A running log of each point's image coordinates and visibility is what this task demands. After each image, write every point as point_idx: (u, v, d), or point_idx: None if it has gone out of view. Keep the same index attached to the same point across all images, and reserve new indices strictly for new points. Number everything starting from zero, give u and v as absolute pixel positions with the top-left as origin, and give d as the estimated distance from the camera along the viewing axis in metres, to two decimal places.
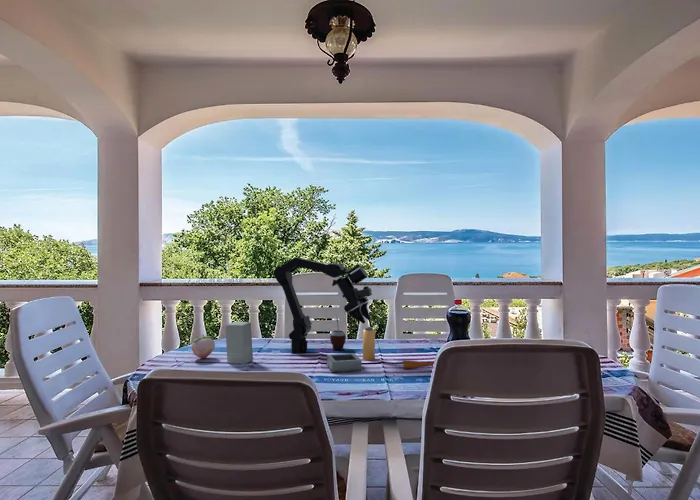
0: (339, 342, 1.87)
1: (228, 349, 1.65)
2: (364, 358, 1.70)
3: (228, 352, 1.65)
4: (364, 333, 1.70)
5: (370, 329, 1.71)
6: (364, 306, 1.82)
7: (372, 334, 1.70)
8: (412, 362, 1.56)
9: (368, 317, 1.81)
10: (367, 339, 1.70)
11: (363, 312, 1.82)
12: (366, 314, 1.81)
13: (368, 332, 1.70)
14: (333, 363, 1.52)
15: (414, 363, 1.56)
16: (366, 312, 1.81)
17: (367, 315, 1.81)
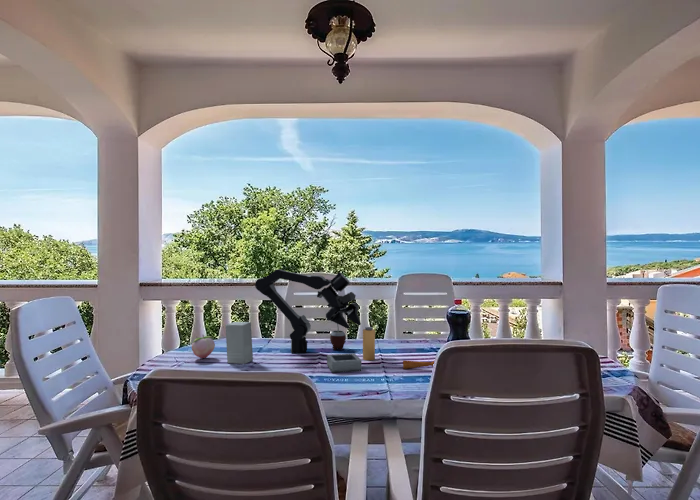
0: (339, 342, 1.87)
1: (228, 349, 1.65)
2: (364, 358, 1.70)
3: (228, 352, 1.65)
4: (364, 333, 1.70)
5: (370, 329, 1.71)
6: (353, 312, 1.82)
7: (372, 334, 1.70)
8: (412, 362, 1.56)
9: (358, 322, 1.80)
10: (367, 339, 1.70)
11: (353, 319, 1.82)
12: (356, 320, 1.81)
13: (368, 332, 1.70)
14: (333, 363, 1.52)
15: (414, 363, 1.56)
16: (356, 318, 1.81)
17: (357, 321, 1.80)
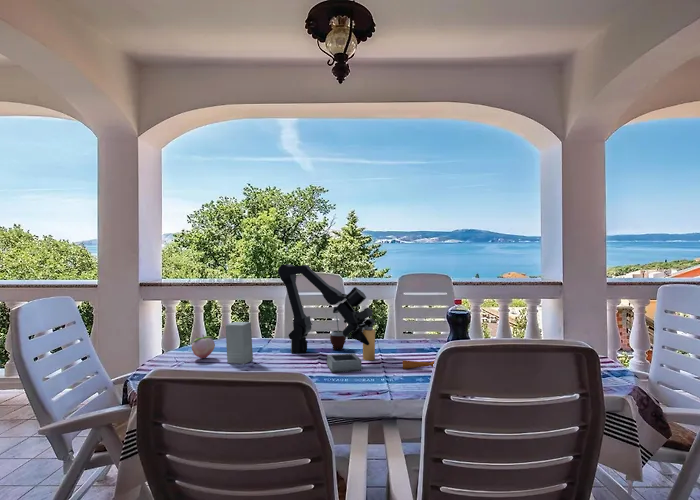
0: (339, 342, 1.87)
1: (228, 349, 1.65)
2: (364, 358, 1.70)
3: (228, 352, 1.65)
4: (364, 333, 1.70)
5: (370, 329, 1.71)
6: None
7: (372, 334, 1.70)
8: (411, 362, 1.57)
9: None
10: (367, 339, 1.70)
11: None
12: None
13: (368, 332, 1.70)
14: (333, 363, 1.52)
15: (413, 363, 1.56)
16: None
17: None
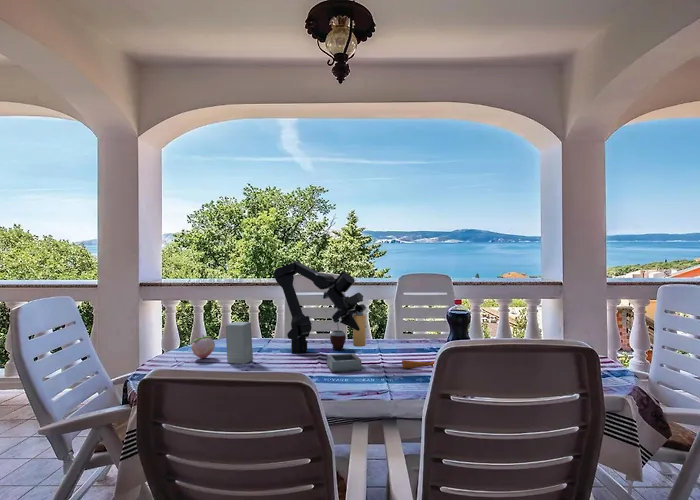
0: (339, 342, 1.87)
1: (228, 349, 1.65)
2: (354, 344, 1.65)
3: (228, 352, 1.65)
4: (354, 318, 1.65)
5: (361, 314, 1.65)
6: None
7: (363, 319, 1.65)
8: (411, 362, 1.57)
9: None
10: (357, 324, 1.64)
11: None
12: None
13: (358, 317, 1.64)
14: (333, 363, 1.52)
15: (413, 363, 1.56)
16: None
17: None
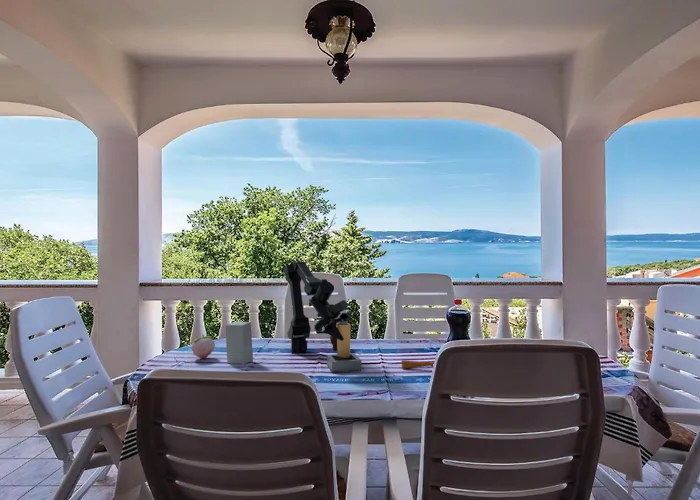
0: None
1: (228, 349, 1.65)
2: (338, 355, 1.57)
3: (228, 352, 1.65)
4: (338, 328, 1.57)
5: (345, 323, 1.57)
6: None
7: (347, 329, 1.56)
8: (411, 362, 1.57)
9: None
10: (341, 334, 1.56)
11: None
12: None
13: (342, 326, 1.56)
14: (333, 363, 1.52)
15: (413, 363, 1.56)
16: None
17: None
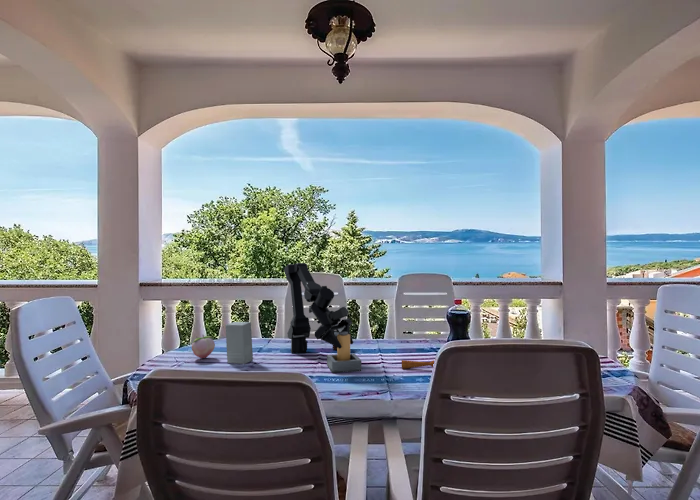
0: None
1: (228, 349, 1.65)
2: None
3: (228, 352, 1.65)
4: (338, 338, 1.57)
5: (345, 334, 1.57)
6: (345, 329, 1.63)
7: (347, 339, 1.56)
8: (410, 362, 1.57)
9: (351, 341, 1.61)
10: (341, 345, 1.56)
11: None
12: None
13: (342, 337, 1.56)
14: (333, 363, 1.52)
15: (412, 363, 1.56)
16: None
17: None
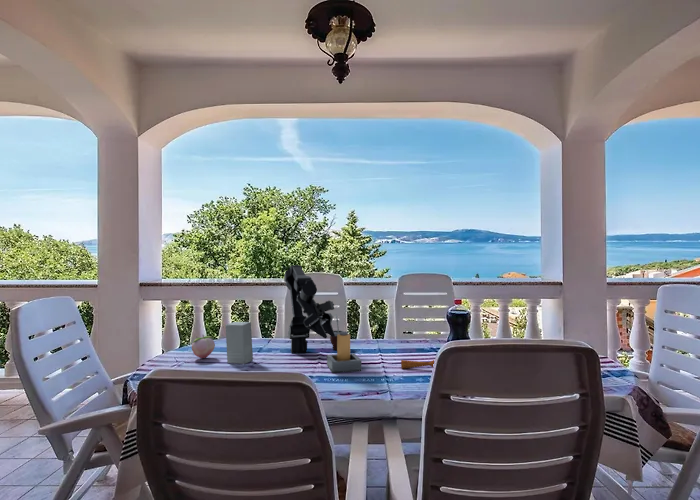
0: None
1: (228, 349, 1.65)
2: None
3: (228, 352, 1.65)
4: (338, 338, 1.57)
5: (345, 334, 1.57)
6: (328, 322, 1.71)
7: (347, 339, 1.56)
8: (410, 362, 1.57)
9: (332, 334, 1.69)
10: (341, 345, 1.56)
11: (327, 329, 1.71)
12: (330, 331, 1.70)
13: (342, 337, 1.56)
14: (333, 363, 1.52)
15: (412, 363, 1.56)
16: (330, 329, 1.70)
17: (331, 332, 1.70)
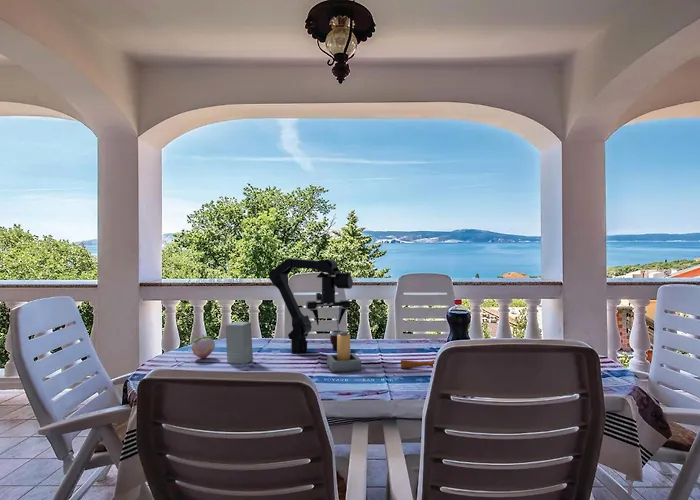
0: None
1: (228, 349, 1.65)
2: None
3: (228, 352, 1.65)
4: (338, 338, 1.57)
5: (345, 334, 1.57)
6: None
7: (347, 339, 1.56)
8: (409, 362, 1.57)
9: None
10: (341, 345, 1.56)
11: (317, 316, 1.77)
12: None
13: (342, 337, 1.56)
14: (333, 363, 1.52)
15: (411, 363, 1.56)
16: None
17: (318, 320, 1.79)
